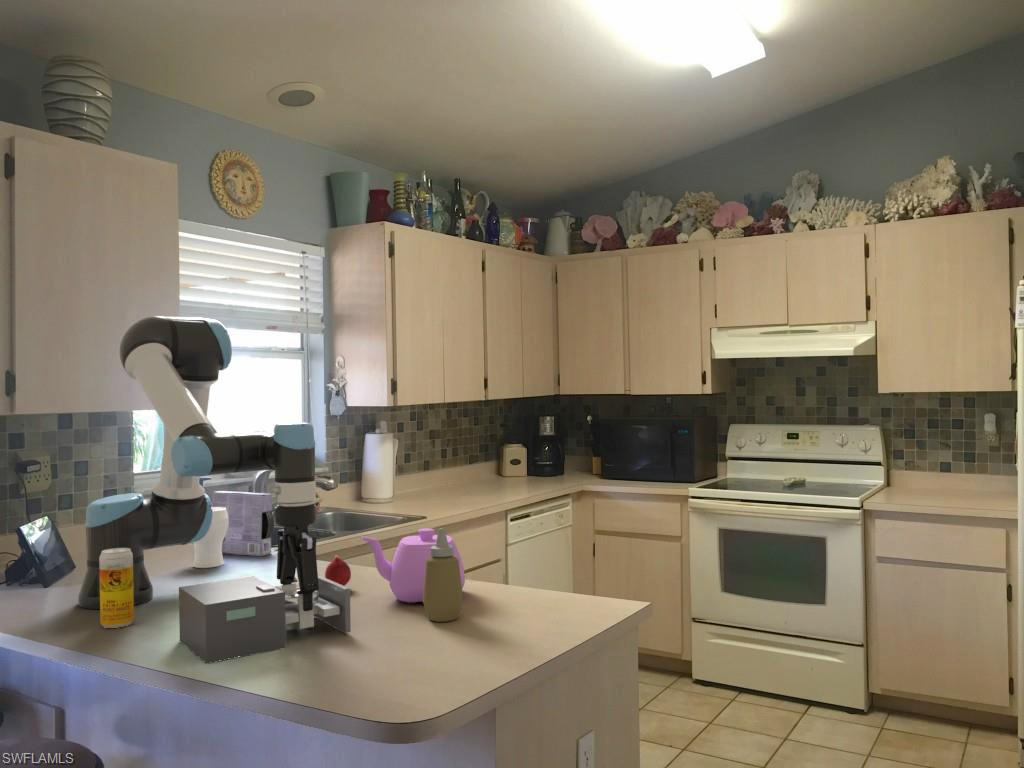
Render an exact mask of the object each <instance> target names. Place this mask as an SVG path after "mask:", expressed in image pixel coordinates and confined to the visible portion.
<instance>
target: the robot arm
mask: <svg viewBox="0 0 1024 768" xmlns="http://www.w3.org/2000/svg"><path fill="white" fill-rule="evenodd" d="M119 344H120V345H119V359H120V362H121V366H122V367H123V370H125V372H126V374H127V376H129V377H130V379H133V380H134V381H137V382H138V384H139V386H140V387H141V389H142V391H143V393H145V394H144V395H146V397H147V398H148V400H149V403H150V404H151V406H152V407H153V409H154V411H155V412H156V413H157V415H158V417H159V419H160V420H161V421H162V423H163V425H164V427H165V431H164V437H163V447H162V449H163V450H162V458H161V465H160V466H161V467H160V478H159V481H158V482H157V483H155V484H154V485H152V487H151V494H150V497H146V498H145V497H144V495H143V494H142V493H139V492H130V493H129V492H128V493H124V494H122V493H121V494H115V495H110V496H106V497H103V498H99V499H97V500H94V501H92V502H90V503H89V504H88V505H87V507H86V510H85V511H86V512H85V513H86V514H85V515H86V516H85V523H84V525H85V538H86V539H85V541H86V542H85V543H86V544H85V545H86V546H85V547H86V549H85V550H86V571H85V573H84V577H83V580H82V583H81V586H80V589H79V591H78V592H79V593H78V600H77V601H78V603H77V604H78V606H79V607H80V608H84V609H89V610H100V567H99V557H100V555H101V552H102V551H103V550H107V549H113V548H130V549H131V552H132V554H133V594H134V606H135V605H140V604H142V603H146V602H147V601H150V600H152V599H153V598H154V588H153V584H152V582H151V579H150V576H149V573H148V571H147V567H146V565H145V554H144V553H145V550H152V549H159V548H167V547H173V546H180V545H181V546H184V545H188V544H191V543H193V542H196V541H199V540H201V539H202V538H203V537H204V536H205V535H206V534H207V532H208V531H209V528H210V526H211V522H212V516H213V510H212V509H211V507H213V502H212V501H211V498H210V496H209V495H208V494H206V490H205V488H204V487H203V486H202V484H200V478H201V477H206V476H217V475H225V474H233V473H234V474H236V473H247V472H260V471H274V486H275V487H274V488H272V492H273V493H275V497H274V498H275V499H274V500H275V503H277V505H276V506H275V507H274V509H275V510H274V511H275V523H276V525H277V526H280V527H283V529H278V530H277V532H276V534H277V536H276V537H277V560H276V579H277V580H279V583H280V585H282V591H284V592H286V591H292V590H296V584H295V583H299V587H300V591H298V592H296V593H297V595H298V618H299V622H298V629H299V630H304V629H308V628H314V627H315V617H314V604H313V592H315V591H317V590H319V584H318V574H319V573H318V572H319V571H318V561H317V548H316V547H317V537H316V536H312V537H311V536H310V533H309V532H310V531H309V526H310V525H312V524H314V523H315V524H316V521H317V509H316V508H317V507H316V506H317V505H316V504H315V503H314V502H315V501H316V500H317V494H316V493H317V488H316V487H317V484H316V440H315V431H314V426H313V424H311V423H309V422H282V423H277V424H275V426H274V428H273V432H270V431H269V432H268V431H266V430H263V431H254V432H253V431H252V432H245V433H231V434H230V433H229V434H227V433H226V434H219V433H218V431H217V430H216V429H215V428H214V425H213V424H212V423H211V420H210V419H209V418H208V409H209V407H208V406H209V400H210V392H211V391H210V390H211V386H212V385H213V384H215V383H216V382H217V381H218V380H219V373H220V371H224V370H226V369H227V368H228V367H229V365H230V364H231V361H232V355H233V350H232V349H233V347H232V342H231V339H230V335H229V333H228V330H227V328H226V327H225V326H224V324H222V323H221V321H218V320H217V319H211V318H204V317H189V316H188V317H184V316H182V317H181V316H161V315H157V316H156V315H154V316H152V315H151V316H148V317H144V318H142V319H140V320H138V321H136V322H135V323H133V324H132V325H131V326H130V327H129V328H128V329H127V330H126V332H125V333H124V335H123V336H122V338H121V341H120V343H119ZM296 574H297V577H296ZM293 583H294V584H293Z"/></svg>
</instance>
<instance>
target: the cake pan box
mask: <svg viewBox="0 0 1024 768" xmlns="http://www.w3.org/2000/svg"><path fill="white" fill-rule="evenodd" d="M212 507H225V508H226V510H227V514H228V520H229V525H228V529H227V533H226V535H225V537H224V539H223V542H222V550H221V551H222V554H229V555H239V556H253V557H264V556H268V555H271V554H272V535H273V532H274V530H275V519H274V514H273V511H272V510H273V494H272V493H263V492H262V493H261V492H260V493H259V492H250V491H249V492H247V491H230V490H229V491H228V490H218V491H217V490H216V491H213V492H212Z"/></svg>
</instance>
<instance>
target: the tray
mask: <svg viewBox="0 0 1024 768" xmlns="http://www.w3.org/2000/svg"><path fill="white" fill-rule="evenodd" d="M318 584H319V590H317V592H319V602H318V603H317V604H315V605H314V618H316V619H319V620H320V621H322V622H324V623H326V624H327V625H330V626H331V627H334V628H335V629H338V630H339V631H342V632H343V633H351V632H352V631H351V626H352V625H351V622H352V621H351V588H350V587H348V586H346V585H345V586H343V585H341V584H338V583H336V582H333V581H331V580H329V579H326V578H325V577H324V576H321V575H318ZM285 620H286V625H288V624H293V623H299V618H298V608H285Z"/></svg>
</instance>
